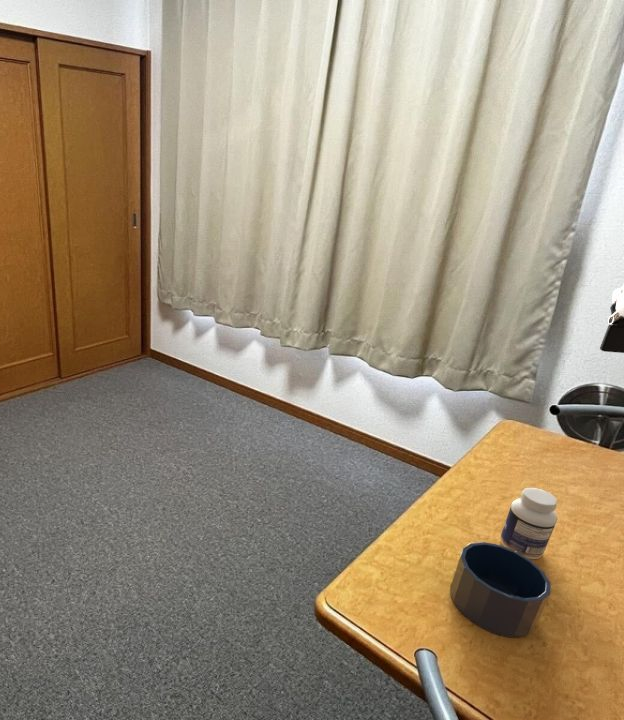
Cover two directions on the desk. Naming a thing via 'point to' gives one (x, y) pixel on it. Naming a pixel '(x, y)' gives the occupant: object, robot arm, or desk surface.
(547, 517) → the pill bottle
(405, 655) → the desk surface
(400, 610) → the desk surface
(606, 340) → the robot arm
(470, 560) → the bowl
